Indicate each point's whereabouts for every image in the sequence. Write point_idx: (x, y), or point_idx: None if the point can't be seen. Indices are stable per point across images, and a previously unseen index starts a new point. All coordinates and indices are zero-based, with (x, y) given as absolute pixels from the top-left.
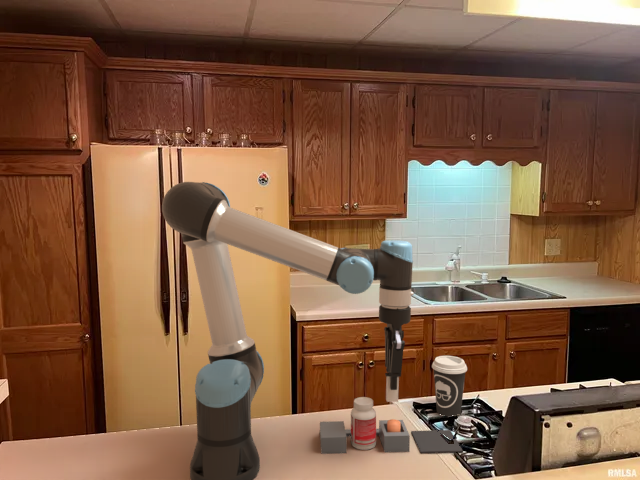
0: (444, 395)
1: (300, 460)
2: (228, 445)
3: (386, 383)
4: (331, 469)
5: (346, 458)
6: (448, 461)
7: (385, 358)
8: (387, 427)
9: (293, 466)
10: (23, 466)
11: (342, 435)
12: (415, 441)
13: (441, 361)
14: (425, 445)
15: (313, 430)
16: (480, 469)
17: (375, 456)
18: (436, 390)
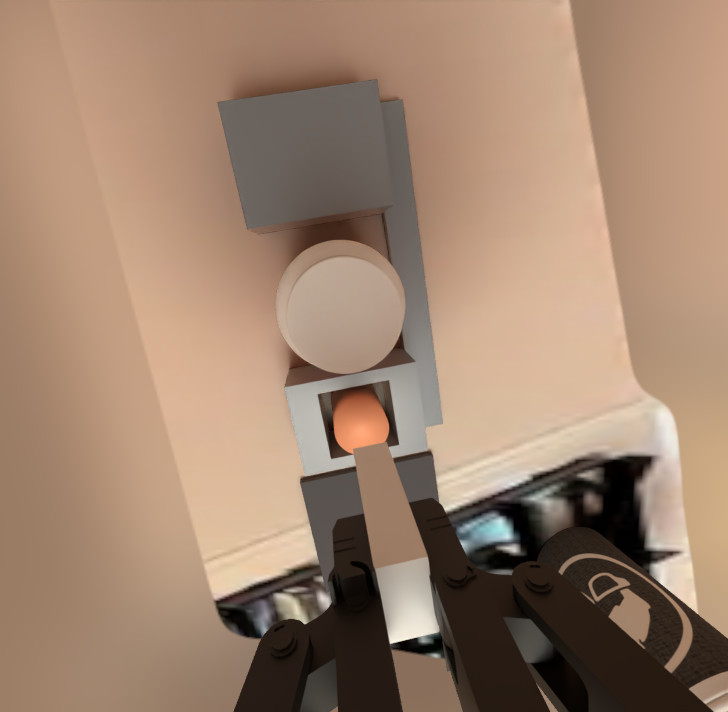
0: None
1: (167, 39)
2: None
3: (401, 500)
4: (134, 183)
5: (223, 236)
6: (270, 550)
7: (600, 630)
8: (353, 397)
9: (114, 11)
10: None
11: (258, 209)
12: None
13: None
14: (341, 496)
15: (420, 71)
16: (244, 622)
17: (258, 340)
18: (623, 590)
